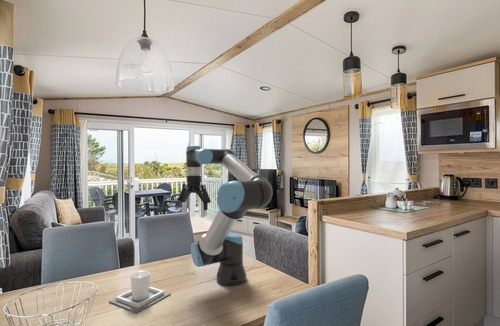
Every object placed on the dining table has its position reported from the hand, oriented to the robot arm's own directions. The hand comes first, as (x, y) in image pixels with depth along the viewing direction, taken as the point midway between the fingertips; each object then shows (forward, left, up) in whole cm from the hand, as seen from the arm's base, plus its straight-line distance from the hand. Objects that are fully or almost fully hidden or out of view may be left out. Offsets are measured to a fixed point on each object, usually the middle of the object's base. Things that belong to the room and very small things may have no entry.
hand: (194, 215), depth 148 cm
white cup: (+4, +31, -31) cm, 44 cm away
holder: (+4, +31, -32) cm, 44 cm away
